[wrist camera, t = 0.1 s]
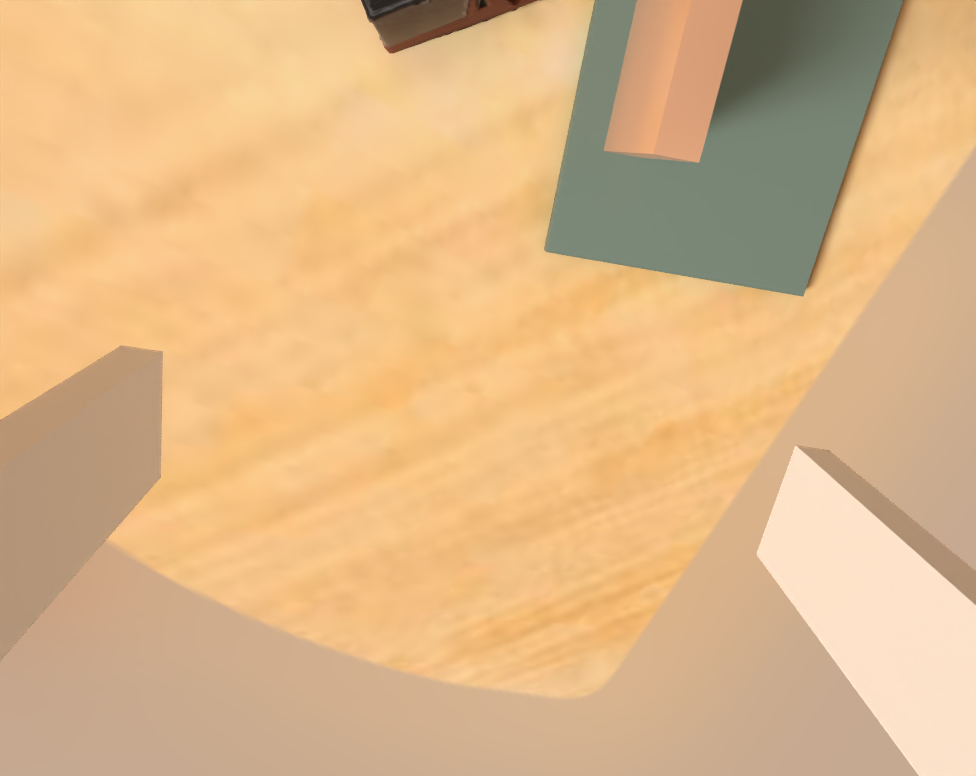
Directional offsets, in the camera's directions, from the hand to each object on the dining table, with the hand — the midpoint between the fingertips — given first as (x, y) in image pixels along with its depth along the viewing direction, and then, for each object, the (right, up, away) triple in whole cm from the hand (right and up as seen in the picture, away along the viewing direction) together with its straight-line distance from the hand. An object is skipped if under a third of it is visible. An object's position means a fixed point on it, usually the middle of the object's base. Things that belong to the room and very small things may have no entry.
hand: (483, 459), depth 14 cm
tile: (+8, +18, +22) cm, 30 cm away
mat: (+13, +18, +24) cm, 32 cm away
